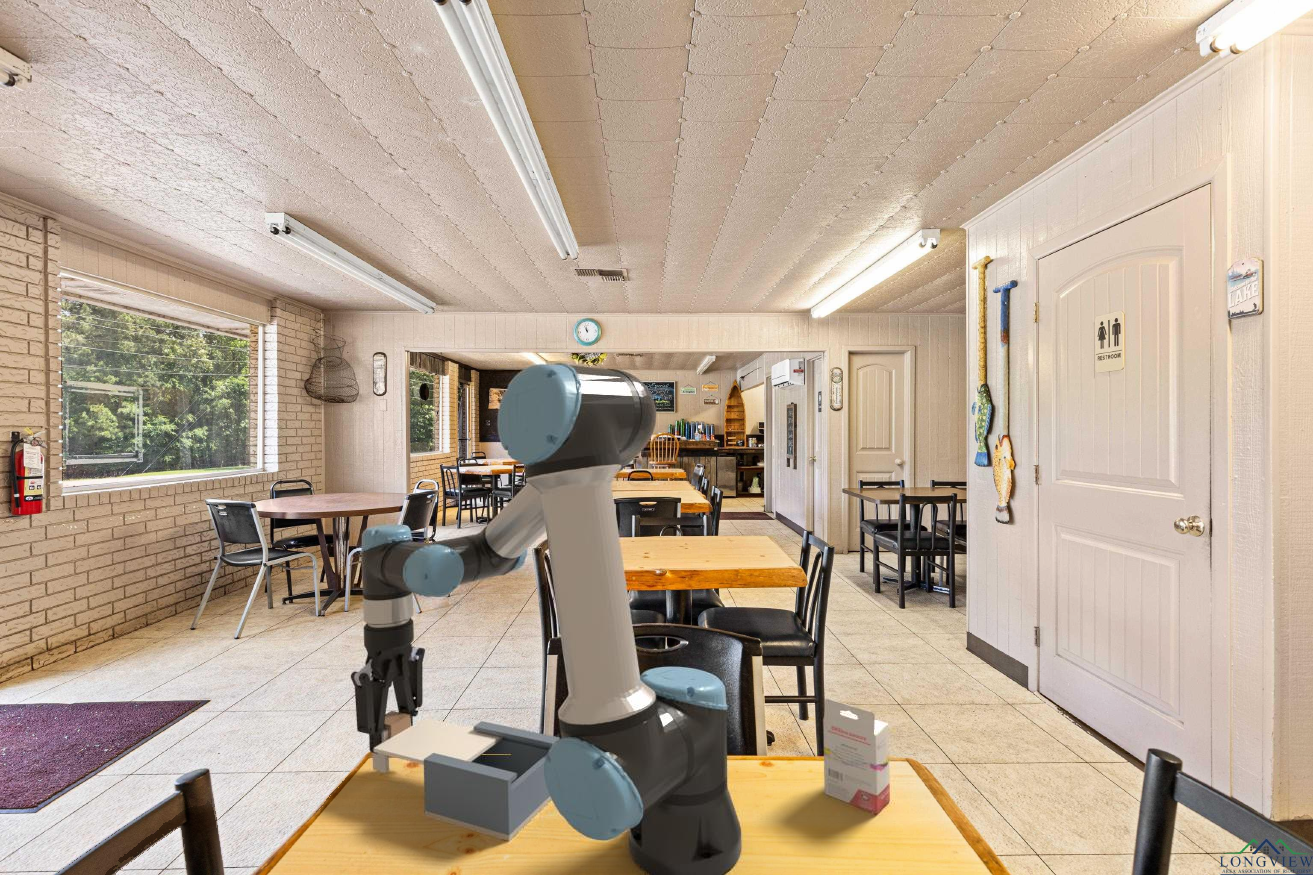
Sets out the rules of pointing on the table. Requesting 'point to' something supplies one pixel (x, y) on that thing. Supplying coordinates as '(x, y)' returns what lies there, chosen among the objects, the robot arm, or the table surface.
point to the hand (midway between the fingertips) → (392, 762)
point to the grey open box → (490, 783)
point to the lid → (432, 739)
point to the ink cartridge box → (856, 756)
